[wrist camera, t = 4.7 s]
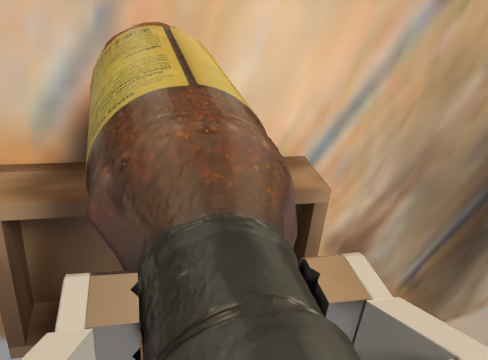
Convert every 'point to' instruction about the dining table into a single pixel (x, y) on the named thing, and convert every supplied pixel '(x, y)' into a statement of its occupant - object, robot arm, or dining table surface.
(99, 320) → the robot arm
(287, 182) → the sauce bottle
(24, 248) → the condiment caddy
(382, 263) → the dining table surface
